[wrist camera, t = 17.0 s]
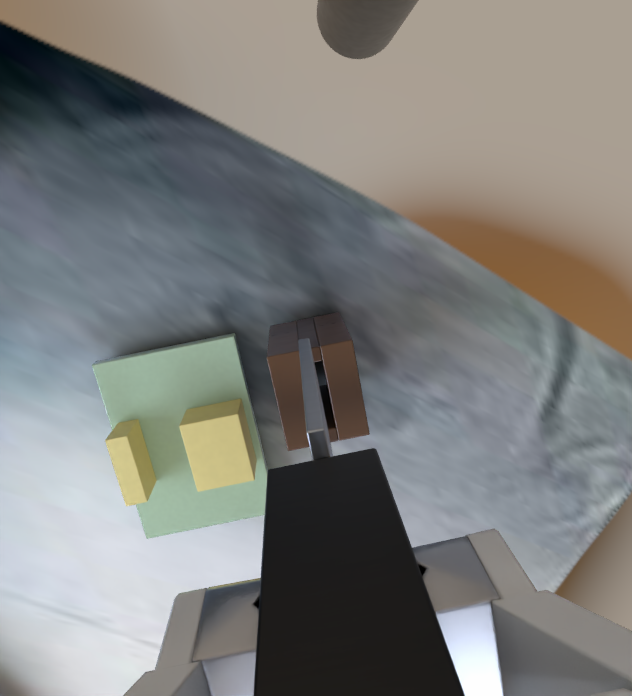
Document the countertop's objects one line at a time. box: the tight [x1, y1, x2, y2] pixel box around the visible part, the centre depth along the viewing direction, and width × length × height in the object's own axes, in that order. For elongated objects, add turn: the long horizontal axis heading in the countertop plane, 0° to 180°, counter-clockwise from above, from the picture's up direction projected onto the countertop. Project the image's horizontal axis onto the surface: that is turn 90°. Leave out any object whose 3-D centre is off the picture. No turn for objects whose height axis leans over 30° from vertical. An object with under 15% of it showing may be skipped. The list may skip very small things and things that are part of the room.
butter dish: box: [92, 333, 268, 539], centre depth 41 cm, size 14×10×1 cm
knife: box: [253, 338, 465, 696], centre depth 13 cm, size 4×2×15 cm
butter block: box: [179, 399, 257, 492], centre depth 39 cm, size 5×4×3 cm
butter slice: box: [105, 419, 157, 506], centre depth 39 cm, size 5×2×3 cm, turn 11°
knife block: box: [267, 312, 369, 451], centre depth 37 cm, size 6×5×8 cm
